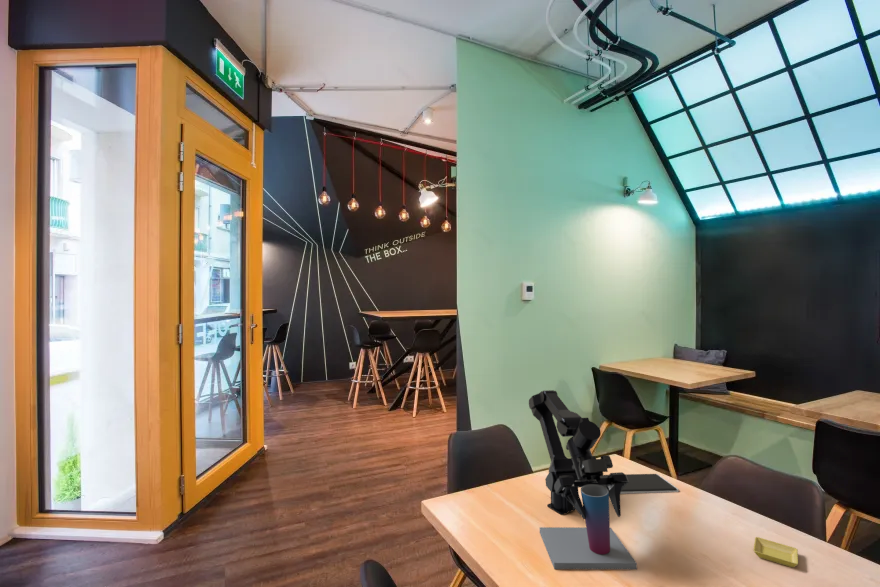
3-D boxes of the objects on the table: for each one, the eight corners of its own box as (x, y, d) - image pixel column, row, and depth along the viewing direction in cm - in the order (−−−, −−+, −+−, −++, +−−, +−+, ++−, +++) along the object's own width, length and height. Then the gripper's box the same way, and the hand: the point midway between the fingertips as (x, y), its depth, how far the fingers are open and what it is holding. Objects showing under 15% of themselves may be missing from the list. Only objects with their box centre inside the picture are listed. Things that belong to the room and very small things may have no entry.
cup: (607, 560, 102) (602, 499, 102) (581, 550, 107) (575, 492, 107) (618, 546, 107) (612, 488, 107) (592, 537, 112) (587, 481, 112)
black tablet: (680, 494, 142) (679, 489, 142) (602, 496, 140) (602, 490, 140) (657, 477, 155) (657, 473, 155) (586, 479, 154) (586, 474, 154)
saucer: (755, 543, 112) (755, 535, 112) (797, 556, 106) (797, 548, 106) (753, 559, 105) (753, 550, 105) (798, 573, 100) (798, 564, 100)
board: (554, 569, 101) (554, 562, 101) (539, 532, 117) (539, 527, 117) (636, 569, 101) (636, 563, 101) (610, 532, 117) (610, 527, 117)
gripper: (557, 445, 110) (576, 507, 99) (624, 442, 112) (650, 502, 101) (547, 464, 118) (563, 524, 106) (609, 461, 120) (632, 519, 108)
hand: (602, 517), depth 105 cm, fingers open, 9 cm apart
